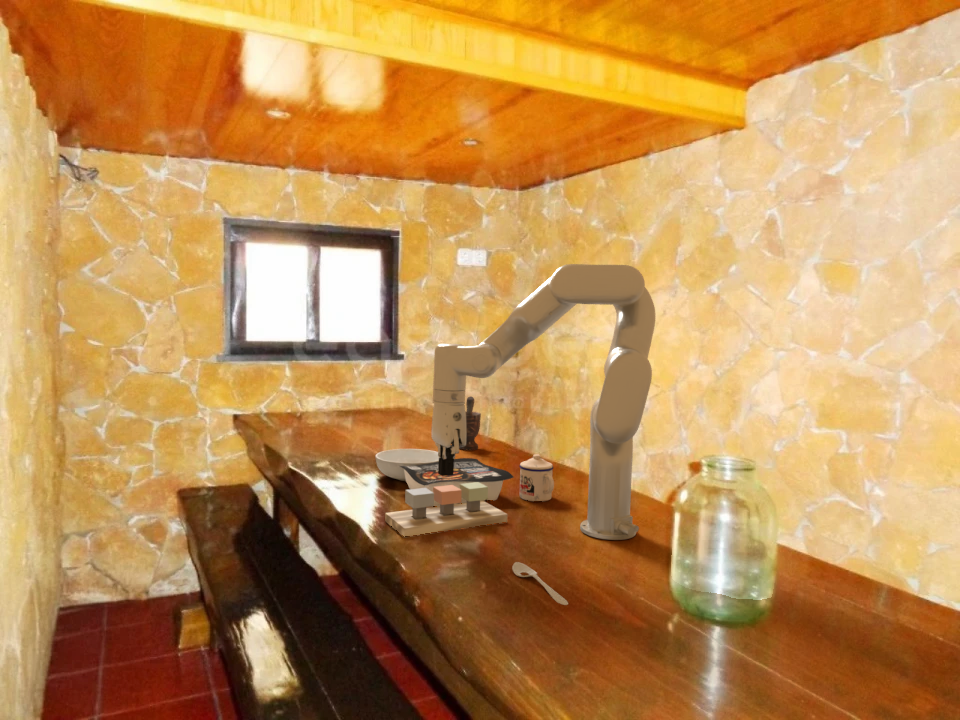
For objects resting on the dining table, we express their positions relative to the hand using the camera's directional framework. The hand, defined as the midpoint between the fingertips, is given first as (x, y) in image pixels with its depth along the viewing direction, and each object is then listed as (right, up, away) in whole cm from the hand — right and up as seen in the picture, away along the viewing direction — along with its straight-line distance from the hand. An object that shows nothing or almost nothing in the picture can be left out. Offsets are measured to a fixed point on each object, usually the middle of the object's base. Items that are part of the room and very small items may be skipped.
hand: (445, 474), depth 153 cm
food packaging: (+1, -10, +24) cm, 26 cm away
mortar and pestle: (+4, -6, +84) cm, 85 cm away
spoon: (+20, -15, -35) cm, 43 cm away
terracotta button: (0, -9, +1) cm, 9 cm away
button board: (0, -11, +1) cm, 11 cm away
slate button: (-6, -9, -3) cm, 11 cm away
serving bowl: (-13, -9, +41) cm, 44 cm away
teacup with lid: (+24, -11, +22) cm, 34 cm away
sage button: (+6, -9, +4) cm, 12 cm away
